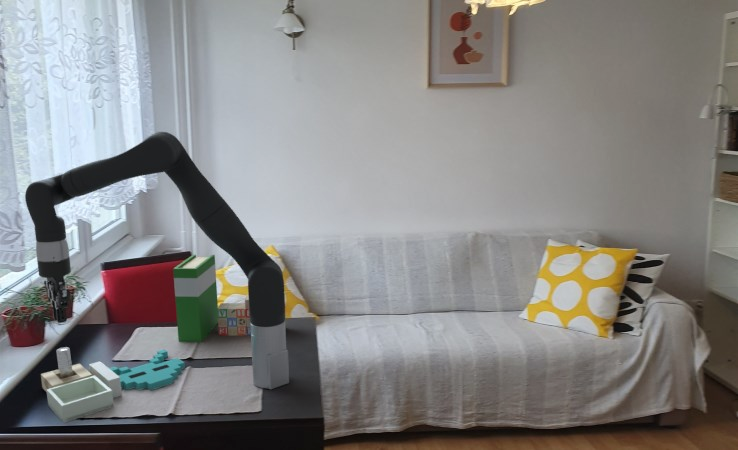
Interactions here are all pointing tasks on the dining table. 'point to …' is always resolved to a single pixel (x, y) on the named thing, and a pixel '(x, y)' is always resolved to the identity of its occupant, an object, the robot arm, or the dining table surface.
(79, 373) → the socket block
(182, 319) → the hardback book
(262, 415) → the dining table surface
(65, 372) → the steel dowel
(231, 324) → the stack of blocks
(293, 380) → the dining table surface
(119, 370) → the alien figure
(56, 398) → the tray
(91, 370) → the bar
